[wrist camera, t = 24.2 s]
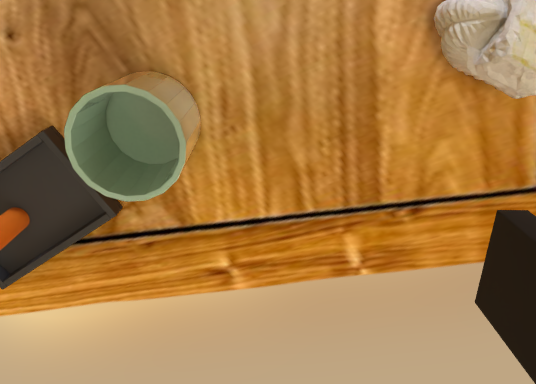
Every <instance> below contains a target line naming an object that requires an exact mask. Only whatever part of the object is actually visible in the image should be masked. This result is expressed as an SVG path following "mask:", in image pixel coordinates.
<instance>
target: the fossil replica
mask: <svg viewBox="0 0 536 384" xmlns="http://www.w3.org/2000/svg"><path fill="white" fill-rule="evenodd" d="M434 20H435V28H436V29H437V31H438V34H439V36H441V37H442V39H441V49H442V52H443V55H444V56H445V57H446V59H447V61H448V62H449V63H450V64H451V65H452V67H454V68H457V70H458V71H459V72H460V71H463V72H464V73H465V75H472V76H473V77H474V79H479V80H484V82H485V83H486V84H490V85H493V86H494V87H495V89H498V90H500V91H503V92H504V93H505V94H507V95H508V96H510V97H512V98H515V99H519V98H523V97H526V96H530V95H536V0H446V1H444V2H442V3H441V4H440V5H439V6H438V7H437V11H436V13H435V17H434Z"/></svg>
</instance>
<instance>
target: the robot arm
mask: <svg viewBox="0 0 536 384" xmlns="http://www.w3.org/2000/svg"><path fill="white" fill-rule="evenodd" d="M475 303H476V305H477V306H478V307H479V308H480V310H481V311H482V313H483V314H484V315H485V317H486V318H487V319H488V321H489V322H490V323H491V325H492V326H493V327H494V329H495V330H496V331H497V333H498V334H499V335H500V337H501V338H502V340H503V341H504V342H505V343H506V345H507V346H508V348H509V349H510V350H511V351H512V353H513V354H514V356H515V357H516V358H517V359H518V361H519V362H520V364H521V365H522V366H523V368H524V369H525V370H526V372H527V373H528V374H529V376H530V377H531V378H532V380H533V381H534V383H535V384H536V216H534V215H533V214H532V213H530V212H529V211H528V210H497V213H496V217H495V221H494V225H493V229H492V233H491V238H490V242H489V246H488V250H487V254H486V258H485V262H484V266H483V271H482V275H481V279H480V283H479V287H478V291H477V295H476V299H475Z"/></svg>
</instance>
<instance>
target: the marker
mask: <svg viewBox="0 0 536 384" xmlns="http://www.w3.org/2000/svg"><path fill="white" fill-rule="evenodd" d="M29 222H30V219H29V216H28V214H27V213H26V212H25V211H24V210H23V209H20V208H16V207H14V208H10V209H8V210H7V211H6V212H4V213H3V214H2V215H0V250H1V249H2V248H4V247H5V246H6V245H7V244H8V243H9V242H10V241H11V240H12V239H14V238H15V237H16V236H17V235H18V234H19V233H20V232H21V231H23V230H24V229H25V228H26V227H27V226H28V225H29Z"/></svg>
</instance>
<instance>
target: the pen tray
mask: <svg viewBox="0 0 536 384" xmlns="http://www.w3.org/2000/svg"><path fill="white" fill-rule="evenodd" d="M14 207H16V208H20V209H23V210H24V211H25V212H26V213H27V214H28V216H29V219H30V222H29V225H28V226H27V227H26V228H25V229H24V230H23V231H21V232H20V233H19V234H18V235H17V236H16V237H15V238H14V239H12V240H11V241H10V242H9V243H8V244H7V245H6V246H5V247H4V248H2V249H1V250H0V288H1V289H4V288H6V287H7V286H9V285H11V284H12V283H14V282H15V281H17V280H18V279H20V278H21V277H23V276H24V275H26V274H27V273H29V272H30V271H32V270H34V269H35V268H37V267H38V266H40V265H41V264H43V263H44V262H46V261H47V260H49V259H50V258H52V257H53V256H55V255H57V254H58V253H60V252H61V251H63V250H64V249H66V248H67V247H69V246H70V245H72V244H73V243H75V242H76V241H78V240H79V239H81V238H83V237H84V236H86V235H87V234H89V233H90V232H92V231H93V230H95V229H96V228H98V227H99V226H101V225H102V224H104V223H106V222H107V221H109V220H110V219H111V218H113V217H115V216H116V215H117V214H118V213H119V211H120V210H121V209H122V206H121V205H120V203H119V202H118V201H117V200H116V199H114V198H110V197H107V196H104V195H103V194H101V193H100V192H98V191H96V190H95V189H93V188H92V187H90V186H88V185H87V184H86V183H85V182H84V180H83V179H82V178H81V177H80V176H79V175H78V174H77V172H76V171H75V170H74V169H73V167H72V164H71V162H70V160H69V157H68V155H67V153H66V149H65V139H64V138H63V137H62V136H61V135H60V134H59V132H58V131H57V130H56V129H55V128H54V127H53V126H51V127H49V128H47V129H45V130H43V131H41V132H40V133H39V134H38V135H36V136H35V137H33V138H32V139H31V140H29V141H28V142H26V143H25V144H24V145H22V146H21V147H20V148H18V149H17V150H16V151H14V152H13V153H11V154H10V155H9V156H7V157H6V158H5V159H3V160H2V161H1V162H0V215H2V214H3V213H4V212H6V211H7V210H8V209H10V208H14Z"/></svg>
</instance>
